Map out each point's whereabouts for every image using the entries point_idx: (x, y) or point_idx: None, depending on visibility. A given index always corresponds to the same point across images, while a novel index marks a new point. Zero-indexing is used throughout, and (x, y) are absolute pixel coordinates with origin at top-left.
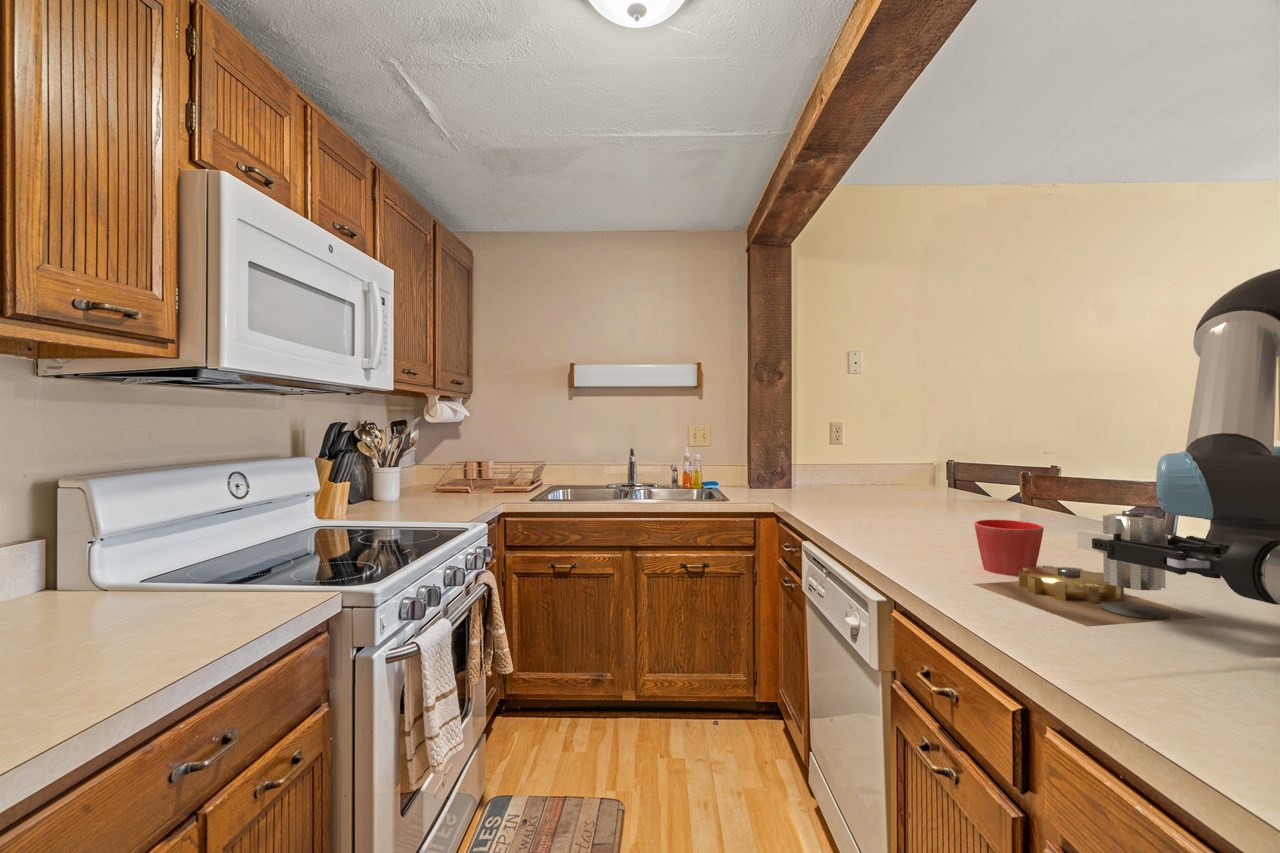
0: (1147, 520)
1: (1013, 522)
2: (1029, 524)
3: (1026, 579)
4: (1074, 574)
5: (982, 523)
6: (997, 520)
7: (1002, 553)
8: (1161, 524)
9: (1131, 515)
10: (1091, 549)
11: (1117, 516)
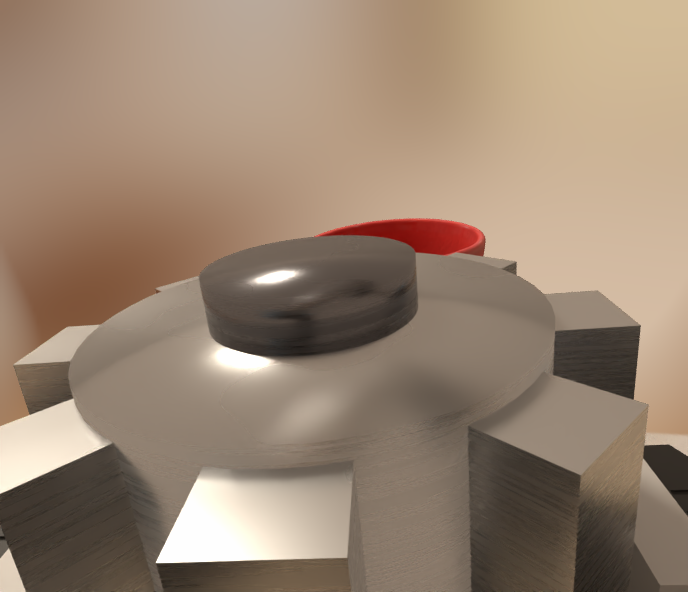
0: (192, 479)
1: (447, 226)
2: (473, 234)
3: None
4: None
5: (364, 232)
6: (412, 221)
7: None
8: (526, 536)
9: (213, 321)
10: None
11: (124, 319)
